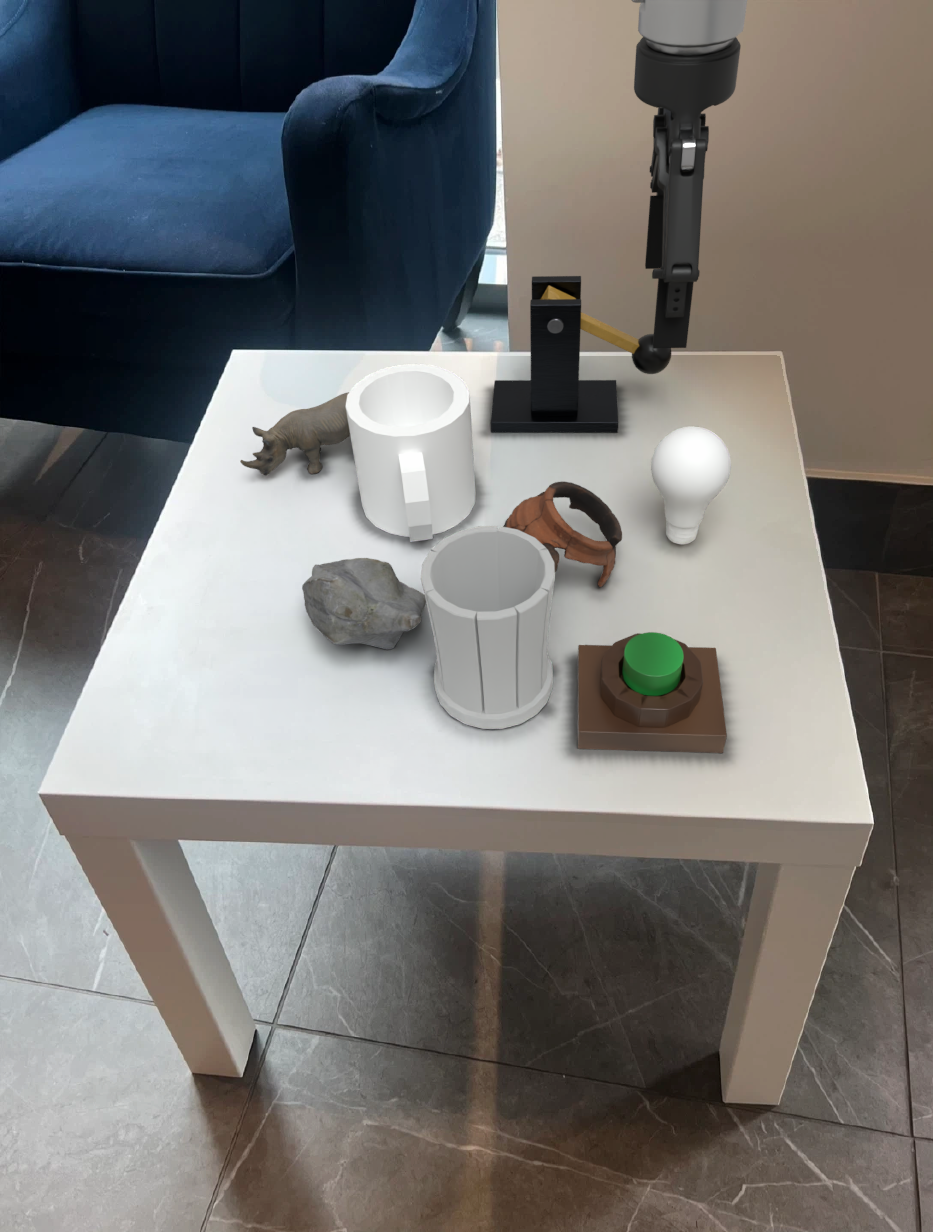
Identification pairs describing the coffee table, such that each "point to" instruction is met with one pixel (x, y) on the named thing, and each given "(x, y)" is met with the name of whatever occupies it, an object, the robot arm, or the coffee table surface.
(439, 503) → the mug
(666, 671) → the light button
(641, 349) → the switch lever
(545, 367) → the switch bracket
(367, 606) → the fossil
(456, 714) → the cup
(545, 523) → the broken clay pot
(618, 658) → the button block
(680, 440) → the lightbulb
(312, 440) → the rhino figurine
